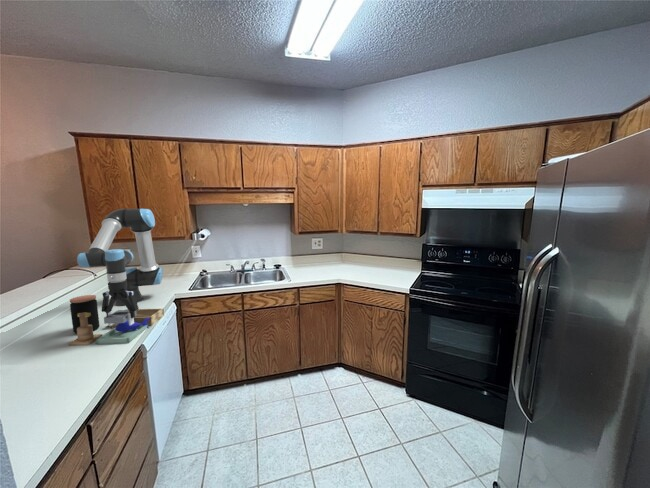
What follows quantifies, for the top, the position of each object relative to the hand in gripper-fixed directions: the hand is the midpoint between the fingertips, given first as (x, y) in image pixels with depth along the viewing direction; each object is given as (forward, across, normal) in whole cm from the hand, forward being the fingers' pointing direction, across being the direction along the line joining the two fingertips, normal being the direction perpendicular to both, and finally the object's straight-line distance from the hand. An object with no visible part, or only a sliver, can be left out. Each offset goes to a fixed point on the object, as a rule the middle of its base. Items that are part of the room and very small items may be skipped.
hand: (121, 324), depth 138 cm
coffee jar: (+7, -24, +9) cm, 27 cm away
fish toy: (+6, +2, +5) cm, 8 cm away
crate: (+7, -2, +17) cm, 18 cm away
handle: (+7, -16, -3) cm, 17 cm away
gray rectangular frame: (-3, 0, 0) cm, 3 cm away
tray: (+7, 0, +1) cm, 7 cm away
